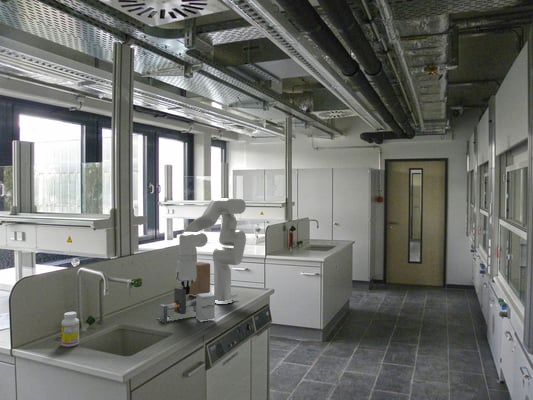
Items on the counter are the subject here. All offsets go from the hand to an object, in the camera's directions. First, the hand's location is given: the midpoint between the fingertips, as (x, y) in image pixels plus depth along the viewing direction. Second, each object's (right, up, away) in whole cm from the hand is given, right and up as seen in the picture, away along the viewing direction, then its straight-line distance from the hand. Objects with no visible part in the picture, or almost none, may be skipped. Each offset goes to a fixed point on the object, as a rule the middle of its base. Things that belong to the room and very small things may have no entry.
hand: (186, 293), depth 222 cm
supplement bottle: (-40, -12, -43) cm, 60 cm away
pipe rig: (-3, -11, -2) cm, 12 cm away
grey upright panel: (-3, -9, -2) cm, 10 cm away
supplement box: (+11, -12, -6) cm, 17 cm away
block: (0, -11, +45) cm, 46 cm away
